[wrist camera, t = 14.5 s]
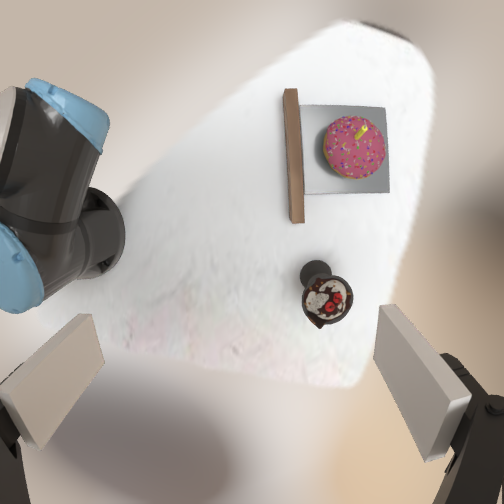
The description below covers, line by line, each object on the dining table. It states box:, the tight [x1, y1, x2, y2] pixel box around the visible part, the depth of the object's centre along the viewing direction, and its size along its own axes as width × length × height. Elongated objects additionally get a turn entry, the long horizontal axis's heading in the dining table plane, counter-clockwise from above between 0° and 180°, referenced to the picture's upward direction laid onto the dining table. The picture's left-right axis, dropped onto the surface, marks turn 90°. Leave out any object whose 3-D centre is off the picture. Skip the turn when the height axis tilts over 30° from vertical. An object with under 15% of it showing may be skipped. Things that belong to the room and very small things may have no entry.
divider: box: [283, 88, 305, 224], centre depth 42 cm, size 2×18×5 cm, turn 3°
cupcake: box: [323, 116, 386, 180], centre depth 37 cm, size 9×8×12 cm
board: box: [299, 105, 390, 194], centre depth 43 cm, size 13×13×1 cm
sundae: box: [300, 260, 353, 329], centre depth 41 cm, size 7×7×15 cm
